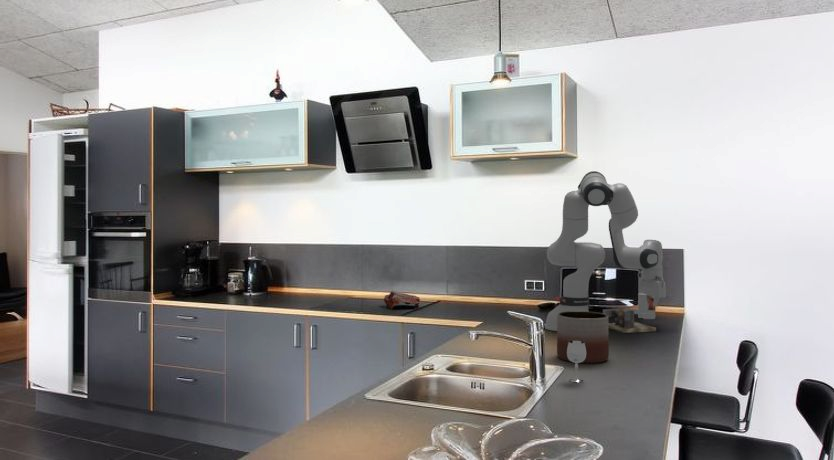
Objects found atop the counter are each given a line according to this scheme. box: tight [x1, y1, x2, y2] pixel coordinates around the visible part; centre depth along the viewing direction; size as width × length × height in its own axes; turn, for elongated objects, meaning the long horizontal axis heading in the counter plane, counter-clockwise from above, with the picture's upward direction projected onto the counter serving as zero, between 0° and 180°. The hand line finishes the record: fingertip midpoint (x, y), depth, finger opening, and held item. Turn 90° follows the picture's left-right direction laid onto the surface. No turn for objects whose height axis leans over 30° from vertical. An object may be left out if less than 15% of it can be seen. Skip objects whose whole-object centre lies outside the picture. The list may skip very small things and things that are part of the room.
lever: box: [602, 298, 656, 318], centre depth 277 cm, size 24×4×8 cm, turn 95°
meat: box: [383, 290, 421, 310], centre depth 343 cm, size 21×21×10 cm
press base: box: [608, 309, 657, 334], centre depth 274 cm, size 16×15×9 cm
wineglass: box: [567, 341, 586, 384], centre depth 186 cm, size 6×6×12 cm
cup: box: [637, 292, 656, 320], centre depth 305 cm, size 8×8×12 cm
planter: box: [556, 311, 610, 364], centre depth 216 cm, size 18×18×16 cm
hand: (652, 305), depth 278 cm, fingers open, 5 cm apart
